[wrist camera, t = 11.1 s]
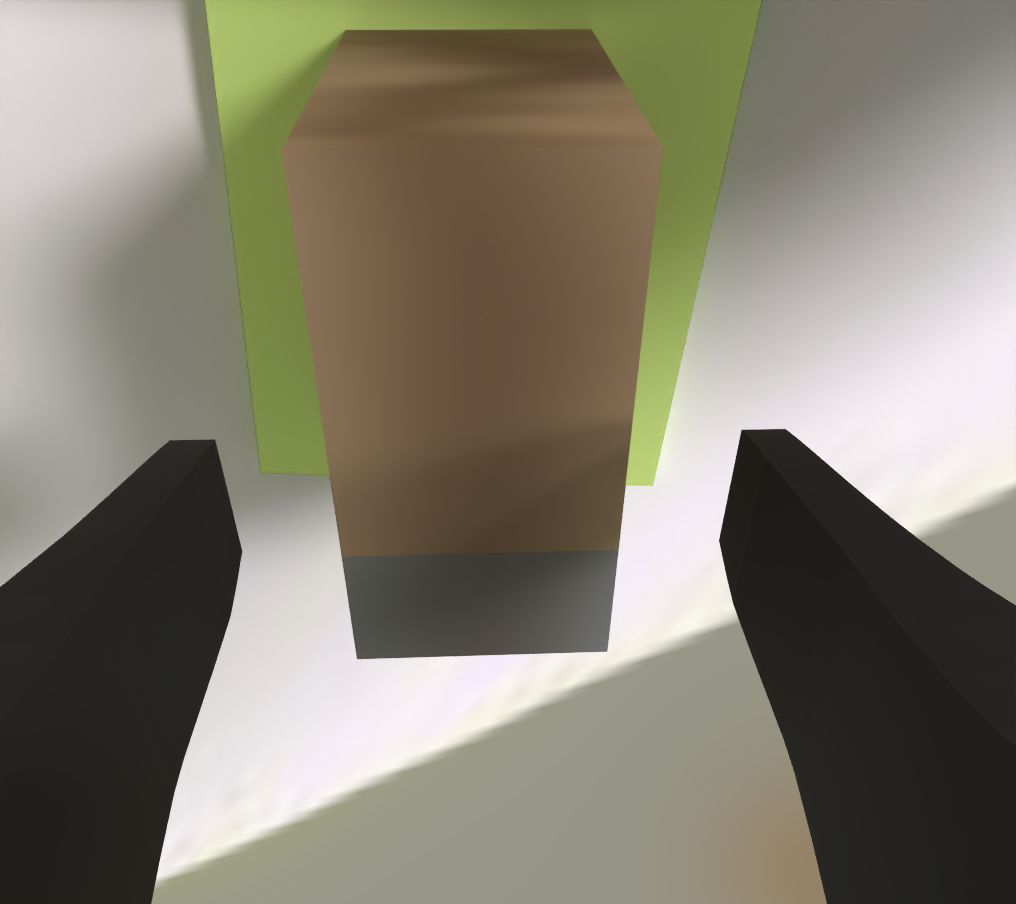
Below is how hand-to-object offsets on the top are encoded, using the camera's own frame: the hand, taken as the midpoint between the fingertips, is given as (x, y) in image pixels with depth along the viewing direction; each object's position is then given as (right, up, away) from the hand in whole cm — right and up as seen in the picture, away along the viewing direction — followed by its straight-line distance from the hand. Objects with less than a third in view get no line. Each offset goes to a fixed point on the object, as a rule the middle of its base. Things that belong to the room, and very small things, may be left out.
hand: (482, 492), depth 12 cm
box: (0, +5, +6) cm, 8 cm away
